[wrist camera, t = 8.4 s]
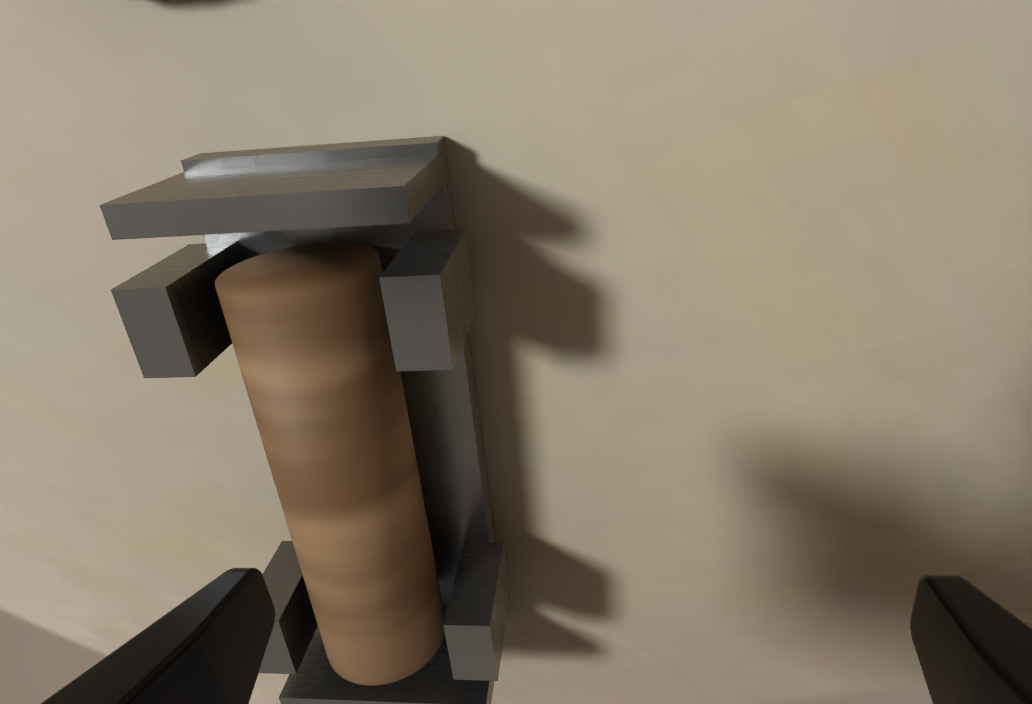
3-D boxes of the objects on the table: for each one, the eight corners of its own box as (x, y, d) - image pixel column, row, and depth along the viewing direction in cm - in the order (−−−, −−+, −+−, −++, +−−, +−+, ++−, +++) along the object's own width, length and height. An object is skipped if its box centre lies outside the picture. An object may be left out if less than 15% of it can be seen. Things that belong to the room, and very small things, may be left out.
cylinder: (256, 247, 19) (183, 301, 15) (395, 238, 18) (352, 292, 15) (347, 587, 25) (308, 684, 21) (454, 587, 24) (434, 686, 21)
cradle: (462, 134, 18) (424, 169, 14) (518, 617, 26) (504, 728, 22) (183, 154, 19) (74, 192, 15) (320, 613, 27) (272, 718, 23)
